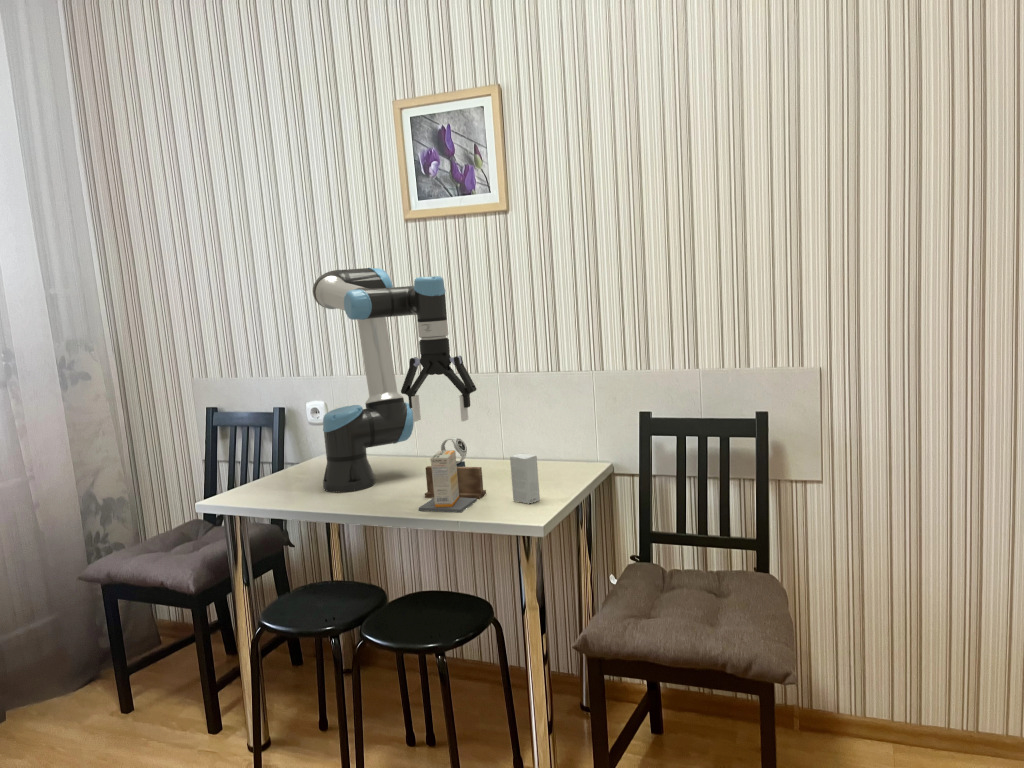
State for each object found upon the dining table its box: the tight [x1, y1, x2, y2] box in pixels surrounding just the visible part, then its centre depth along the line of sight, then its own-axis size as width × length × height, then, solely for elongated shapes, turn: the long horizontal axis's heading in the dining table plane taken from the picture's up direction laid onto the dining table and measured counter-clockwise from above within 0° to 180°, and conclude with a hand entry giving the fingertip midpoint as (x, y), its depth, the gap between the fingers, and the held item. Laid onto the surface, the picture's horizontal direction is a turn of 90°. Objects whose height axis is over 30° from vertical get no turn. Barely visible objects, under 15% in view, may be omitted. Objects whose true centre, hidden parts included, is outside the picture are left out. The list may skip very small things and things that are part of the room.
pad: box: [418, 498, 478, 513], centre depth 199 cm, size 12×10×1 cm
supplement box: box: [430, 449, 459, 507], centre depth 198 cm, size 8×5×13 cm, turn 170°
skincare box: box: [509, 453, 541, 505], centre depth 198 cm, size 6×4×12 cm
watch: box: [440, 436, 468, 467], centre depth 234 cm, size 6×8×11 cm
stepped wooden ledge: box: [424, 465, 487, 500], centre depth 208 cm, size 16×5×8 cm, turn 70°
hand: (440, 420), depth 196 cm, fingers open, 13 cm apart
